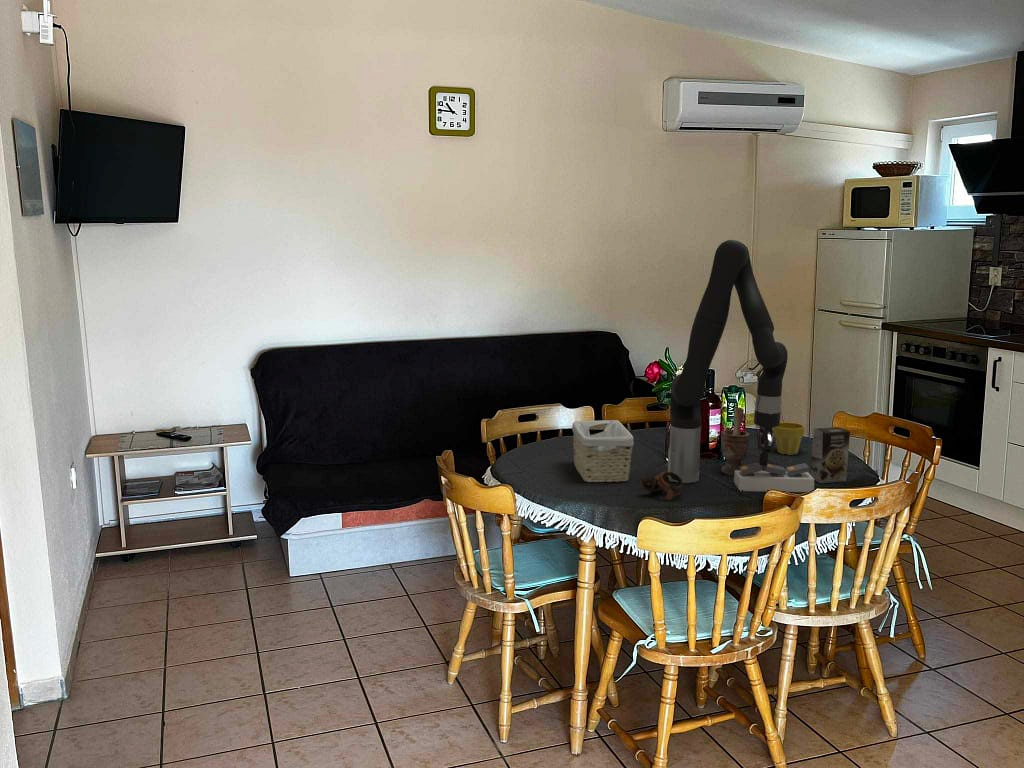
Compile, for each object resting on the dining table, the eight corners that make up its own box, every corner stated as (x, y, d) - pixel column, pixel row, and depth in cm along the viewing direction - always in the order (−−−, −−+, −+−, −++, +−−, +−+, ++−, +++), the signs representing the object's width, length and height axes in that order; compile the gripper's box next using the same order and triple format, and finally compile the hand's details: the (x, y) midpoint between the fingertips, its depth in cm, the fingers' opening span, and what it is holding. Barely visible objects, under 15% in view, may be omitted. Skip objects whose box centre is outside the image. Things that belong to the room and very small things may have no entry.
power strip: (739, 491, 274) (739, 476, 273) (733, 482, 282) (734, 468, 281) (813, 492, 273) (814, 477, 272) (806, 484, 281) (807, 469, 280)
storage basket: (570, 462, 304) (570, 419, 301) (618, 461, 305) (619, 418, 302) (581, 485, 280) (582, 438, 278) (634, 483, 282) (635, 437, 279)
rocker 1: (742, 475, 275) (741, 470, 275) (740, 471, 280) (738, 466, 279) (762, 470, 275) (761, 465, 274) (759, 466, 279) (758, 461, 279)
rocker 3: (790, 476, 275) (789, 471, 274) (786, 471, 279) (785, 467, 279) (810, 471, 274) (809, 466, 274) (806, 467, 278) (805, 462, 278)
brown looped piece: (671, 490, 277) (682, 471, 272) (677, 513, 269) (688, 493, 264) (634, 482, 274) (645, 463, 269) (639, 505, 266) (650, 485, 262)
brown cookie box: (821, 483, 282) (824, 432, 278) (809, 477, 288) (812, 427, 284) (847, 481, 284) (851, 431, 281) (834, 475, 290) (838, 426, 287)
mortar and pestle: (715, 465, 301) (718, 406, 297) (742, 465, 300) (745, 406, 296) (722, 476, 289) (725, 414, 285) (749, 476, 289) (753, 414, 285)
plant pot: (768, 448, 322) (770, 421, 320) (798, 448, 321) (800, 421, 319) (775, 456, 311) (777, 428, 310) (806, 456, 311) (808, 428, 309)
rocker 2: (765, 471, 275) (766, 466, 274) (762, 467, 279) (763, 462, 279) (785, 475, 275) (786, 470, 274) (781, 470, 279) (782, 466, 279)
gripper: (750, 403, 280) (746, 458, 283) (760, 414, 267) (755, 471, 270) (775, 404, 279) (770, 458, 283) (786, 415, 266) (781, 472, 270)
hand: (763, 464), depth 277 cm, fingers closed
